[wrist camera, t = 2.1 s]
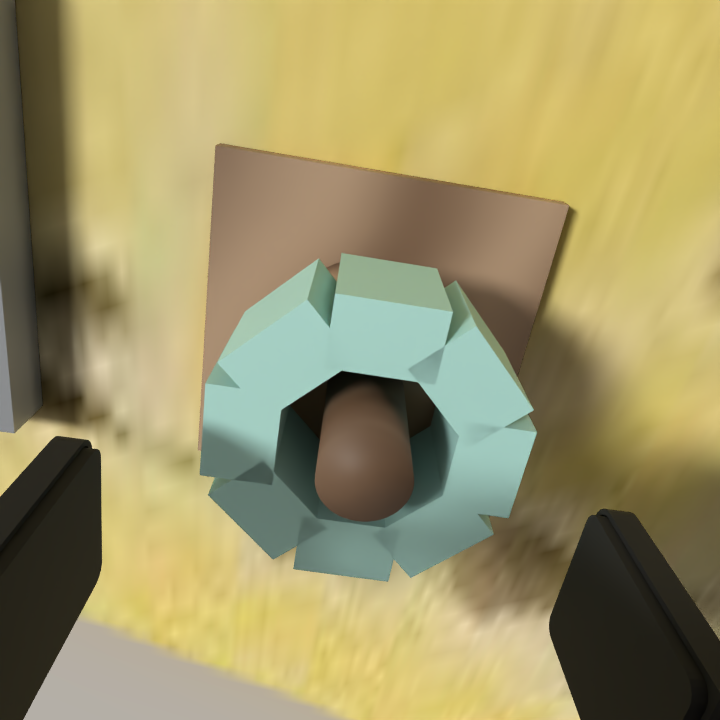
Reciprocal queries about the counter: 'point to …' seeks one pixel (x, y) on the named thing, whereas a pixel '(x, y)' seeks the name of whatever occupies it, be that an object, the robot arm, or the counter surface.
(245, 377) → the ring
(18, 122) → the tray
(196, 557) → the counter surface
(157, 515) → the counter surface
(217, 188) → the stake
